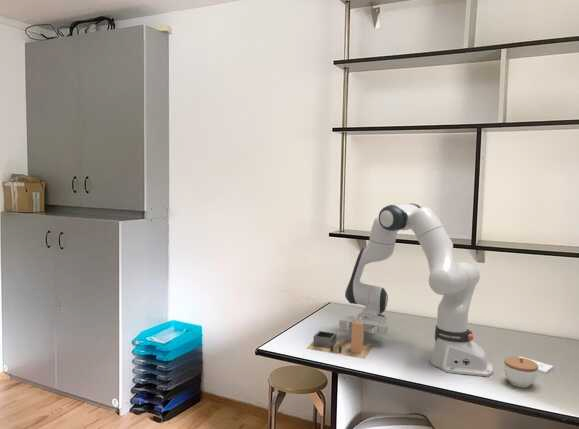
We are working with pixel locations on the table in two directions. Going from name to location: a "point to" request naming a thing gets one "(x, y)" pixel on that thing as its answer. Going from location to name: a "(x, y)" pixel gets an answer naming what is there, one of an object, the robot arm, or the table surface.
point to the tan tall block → (357, 336)
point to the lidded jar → (520, 371)
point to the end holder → (325, 339)
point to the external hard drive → (542, 366)
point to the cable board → (343, 348)
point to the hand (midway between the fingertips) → (359, 330)
